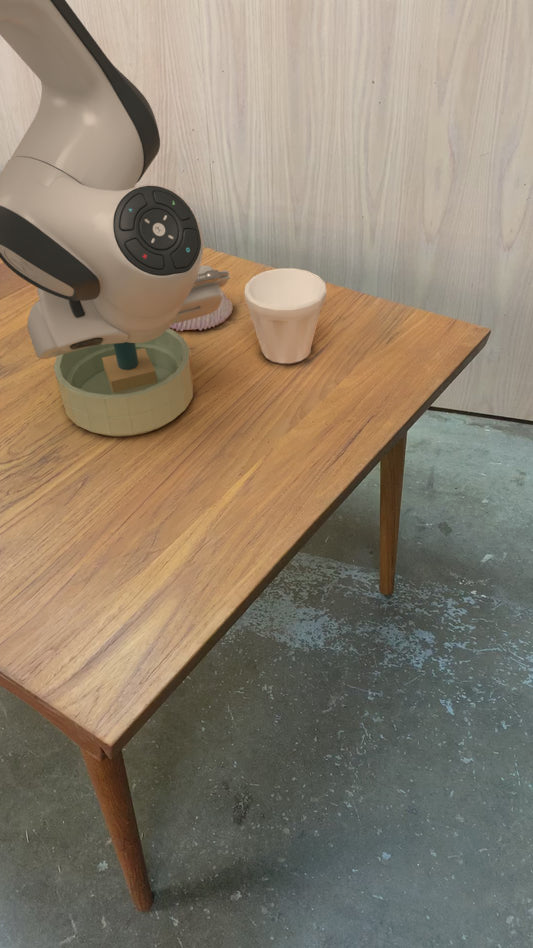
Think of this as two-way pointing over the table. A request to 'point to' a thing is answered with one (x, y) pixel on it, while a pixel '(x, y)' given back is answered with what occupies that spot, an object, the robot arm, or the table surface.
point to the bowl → (132, 411)
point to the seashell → (207, 317)
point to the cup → (285, 312)
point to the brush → (129, 369)
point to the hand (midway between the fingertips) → (120, 332)
